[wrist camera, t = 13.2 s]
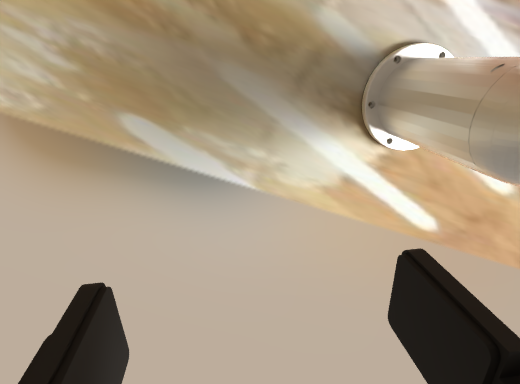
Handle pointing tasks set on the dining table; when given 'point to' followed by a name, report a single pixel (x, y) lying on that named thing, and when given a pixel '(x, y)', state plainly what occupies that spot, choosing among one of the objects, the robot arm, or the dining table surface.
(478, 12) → the dining table surface
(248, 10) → the dining table surface
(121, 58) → the dining table surface
